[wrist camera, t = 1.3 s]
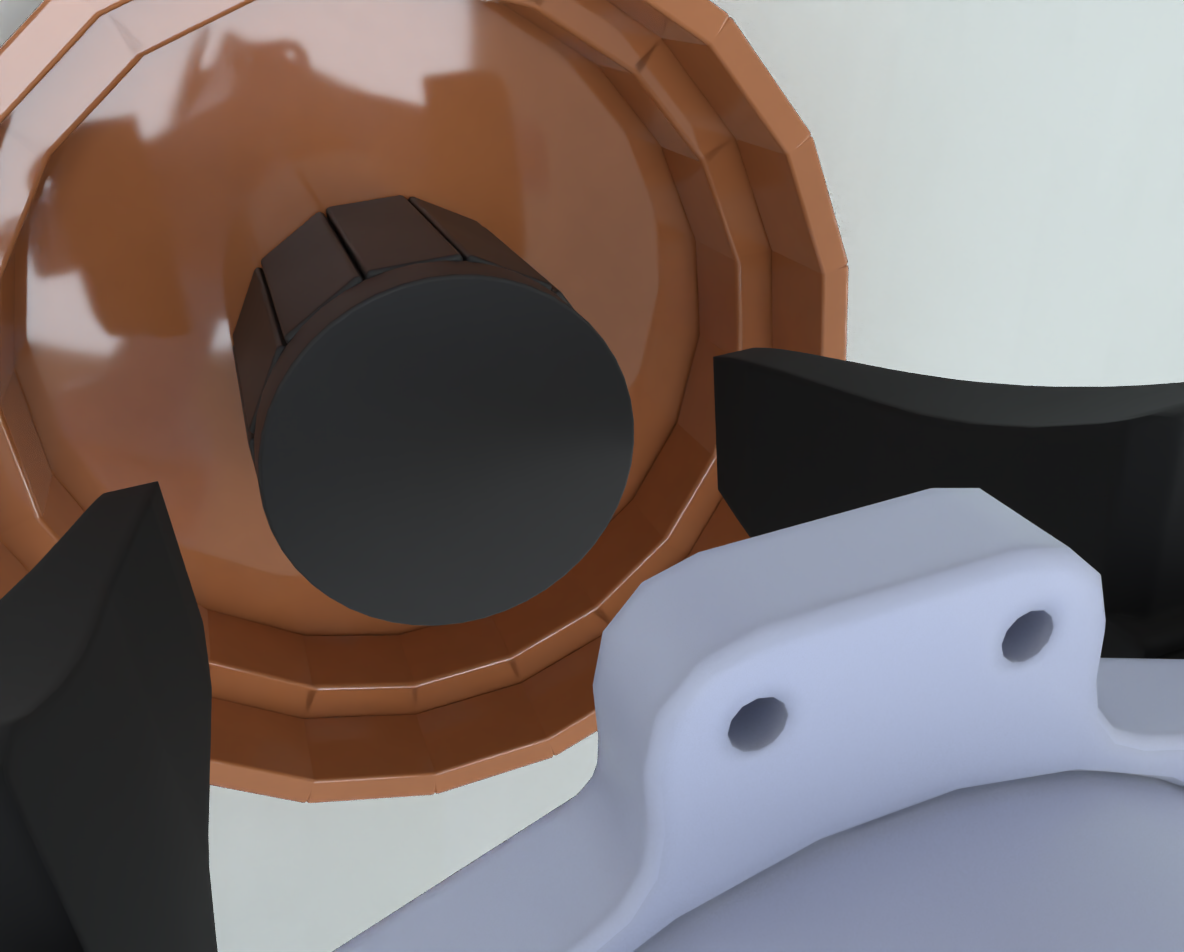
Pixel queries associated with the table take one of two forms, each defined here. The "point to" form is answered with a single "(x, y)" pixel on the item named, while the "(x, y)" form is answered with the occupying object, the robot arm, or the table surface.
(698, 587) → the robot arm
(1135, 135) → the table surface
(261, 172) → the round terracotta dish
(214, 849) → the table surface
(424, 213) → the cap
